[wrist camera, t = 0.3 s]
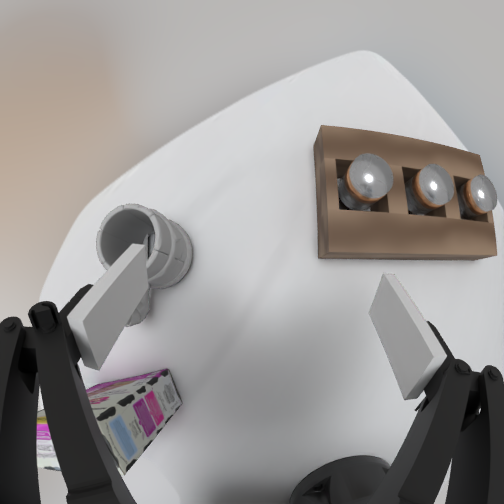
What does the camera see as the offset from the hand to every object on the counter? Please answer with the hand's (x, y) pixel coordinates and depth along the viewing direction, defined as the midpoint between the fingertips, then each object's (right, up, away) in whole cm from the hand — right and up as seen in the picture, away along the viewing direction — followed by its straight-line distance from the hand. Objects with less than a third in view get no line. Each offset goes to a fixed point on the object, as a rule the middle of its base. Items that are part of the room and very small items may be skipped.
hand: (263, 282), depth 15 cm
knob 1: (+11, +8, +14) cm, 20 cm away
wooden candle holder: (+19, +8, +17) cm, 27 cm away
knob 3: (+27, +8, +14) cm, 31 cm away
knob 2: (+19, +8, +14) cm, 25 cm away
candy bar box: (-15, -16, +15) cm, 26 cm away
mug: (-11, -1, +17) cm, 20 cm away
